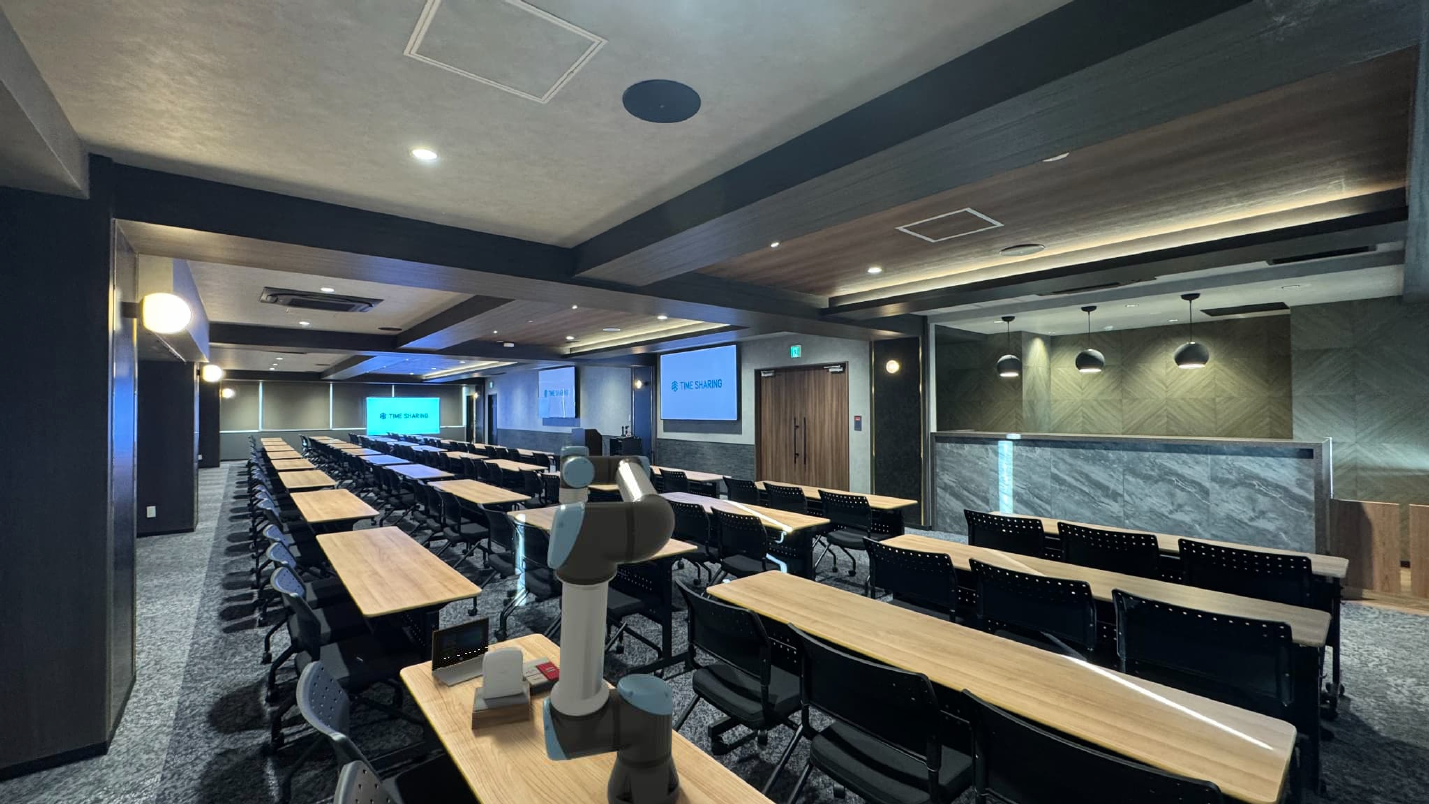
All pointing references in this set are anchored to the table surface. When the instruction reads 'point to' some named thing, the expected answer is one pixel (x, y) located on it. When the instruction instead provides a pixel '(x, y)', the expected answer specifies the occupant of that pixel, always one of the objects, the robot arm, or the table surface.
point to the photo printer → (502, 672)
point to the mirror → (501, 708)
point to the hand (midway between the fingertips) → (571, 582)
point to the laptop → (460, 651)
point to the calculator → (540, 675)
